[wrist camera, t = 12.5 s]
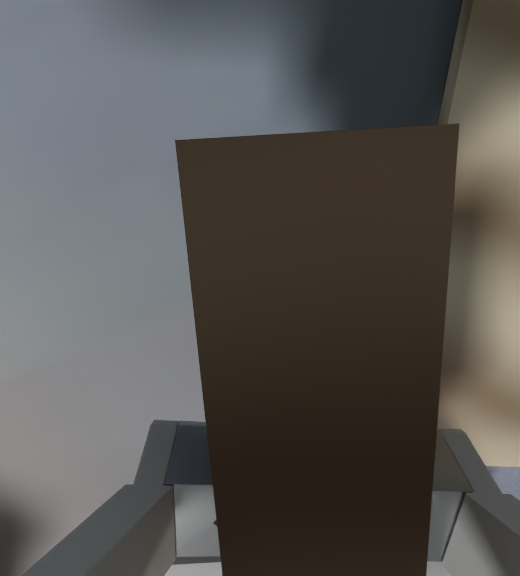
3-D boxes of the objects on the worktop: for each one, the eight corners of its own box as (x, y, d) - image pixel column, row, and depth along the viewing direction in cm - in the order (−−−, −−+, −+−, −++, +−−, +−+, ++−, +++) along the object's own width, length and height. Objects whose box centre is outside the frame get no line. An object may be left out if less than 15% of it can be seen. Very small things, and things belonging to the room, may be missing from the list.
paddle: (76, 147, 9) (-62, 154, 5) (502, 121, 9) (696, 109, 5) (177, 733, 14) (149, 955, 10) (441, 718, 14) (512, 936, 10)
